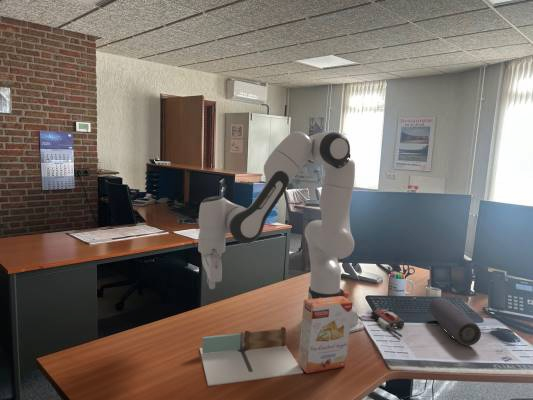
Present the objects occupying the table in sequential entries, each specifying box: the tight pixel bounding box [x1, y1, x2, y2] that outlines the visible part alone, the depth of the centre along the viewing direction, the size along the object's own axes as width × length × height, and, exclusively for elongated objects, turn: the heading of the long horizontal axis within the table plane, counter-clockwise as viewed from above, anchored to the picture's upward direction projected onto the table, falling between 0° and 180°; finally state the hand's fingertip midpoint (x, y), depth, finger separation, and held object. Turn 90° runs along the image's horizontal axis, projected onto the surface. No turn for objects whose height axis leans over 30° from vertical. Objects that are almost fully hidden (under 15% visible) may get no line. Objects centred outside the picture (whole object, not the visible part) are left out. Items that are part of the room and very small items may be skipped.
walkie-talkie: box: [370, 308, 405, 338], centre depth 148 cm, size 9×4×20 cm
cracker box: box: [297, 296, 353, 375], centre depth 116 cm, size 14×6×21 cm, turn 114°
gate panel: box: [201, 331, 245, 353], centre depth 123 cm, size 13×1×6 cm, turn 106°
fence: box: [243, 326, 287, 351], centre depth 127 cm, size 14×2×6 cm, turn 106°
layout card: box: [199, 342, 304, 387], centre depth 119 cm, size 28×20×1 cm
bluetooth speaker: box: [428, 296, 482, 346], centre depth 143 cm, size 23×9×10 cm, turn 0°
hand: (211, 286), depth 128 cm, fingers open, 3 cm apart
